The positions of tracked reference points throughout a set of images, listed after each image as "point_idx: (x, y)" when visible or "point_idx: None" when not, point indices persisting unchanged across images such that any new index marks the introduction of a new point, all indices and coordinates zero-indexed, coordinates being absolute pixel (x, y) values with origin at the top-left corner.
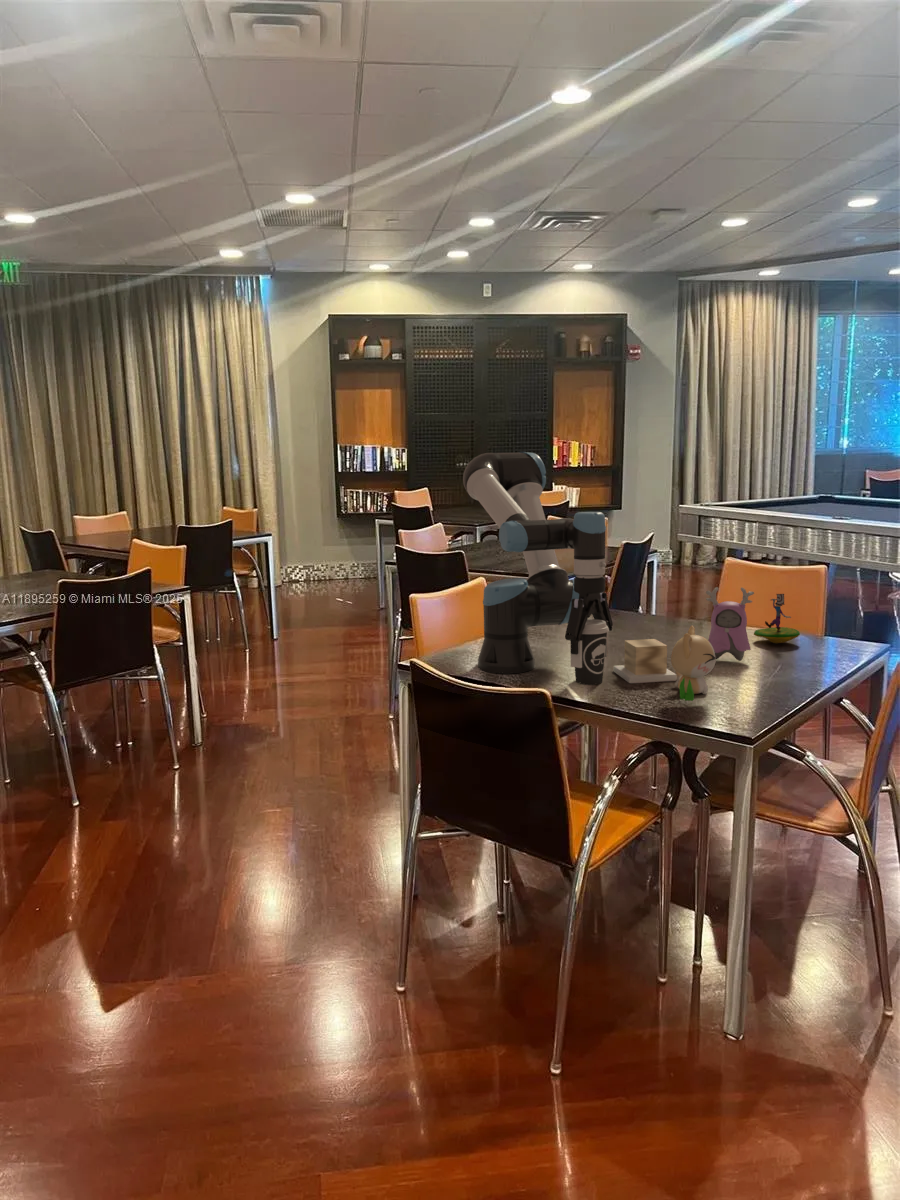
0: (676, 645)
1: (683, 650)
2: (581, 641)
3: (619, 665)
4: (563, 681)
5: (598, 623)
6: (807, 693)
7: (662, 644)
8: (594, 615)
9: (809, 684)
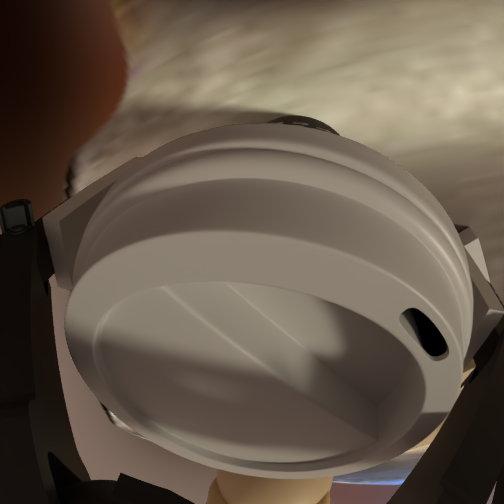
0: (242, 495)
1: (213, 491)
2: (70, 287)
3: (481, 257)
4: (251, 71)
5: (261, 449)
6: (333, 478)
7: (417, 444)
8: (442, 462)
9: (380, 477)
